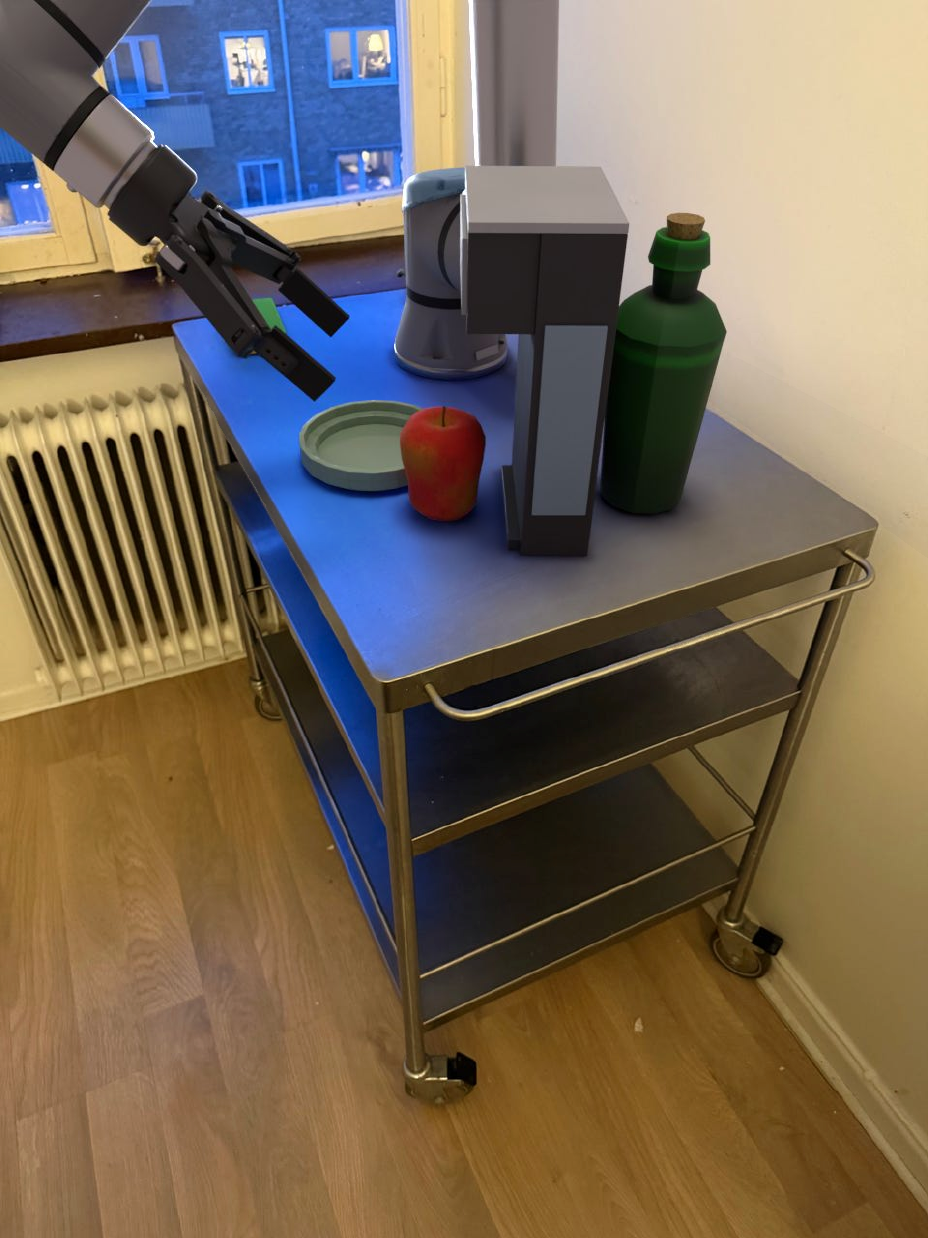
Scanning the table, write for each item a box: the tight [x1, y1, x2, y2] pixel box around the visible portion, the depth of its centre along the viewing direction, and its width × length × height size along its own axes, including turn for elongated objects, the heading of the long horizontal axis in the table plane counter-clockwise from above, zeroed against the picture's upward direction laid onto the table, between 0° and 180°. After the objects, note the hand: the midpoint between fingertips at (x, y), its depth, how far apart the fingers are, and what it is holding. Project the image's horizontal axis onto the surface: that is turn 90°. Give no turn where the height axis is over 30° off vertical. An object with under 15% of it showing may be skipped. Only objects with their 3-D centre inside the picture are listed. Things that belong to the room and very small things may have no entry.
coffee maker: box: [460, 165, 630, 557], centre depth 81 cm, size 12×16×31 cm
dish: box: [298, 399, 424, 492], centre depth 98 cm, size 16×16×3 cm
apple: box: [400, 405, 487, 522], centre depth 87 cm, size 9×8×12 cm
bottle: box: [600, 212, 728, 515], centre depth 85 cm, size 11×11×28 cm
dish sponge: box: [235, 297, 288, 356], centre depth 124 cm, size 7×14×2 cm, turn 18°
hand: (333, 356), depth 81 cm, fingers open, 13 cm apart
